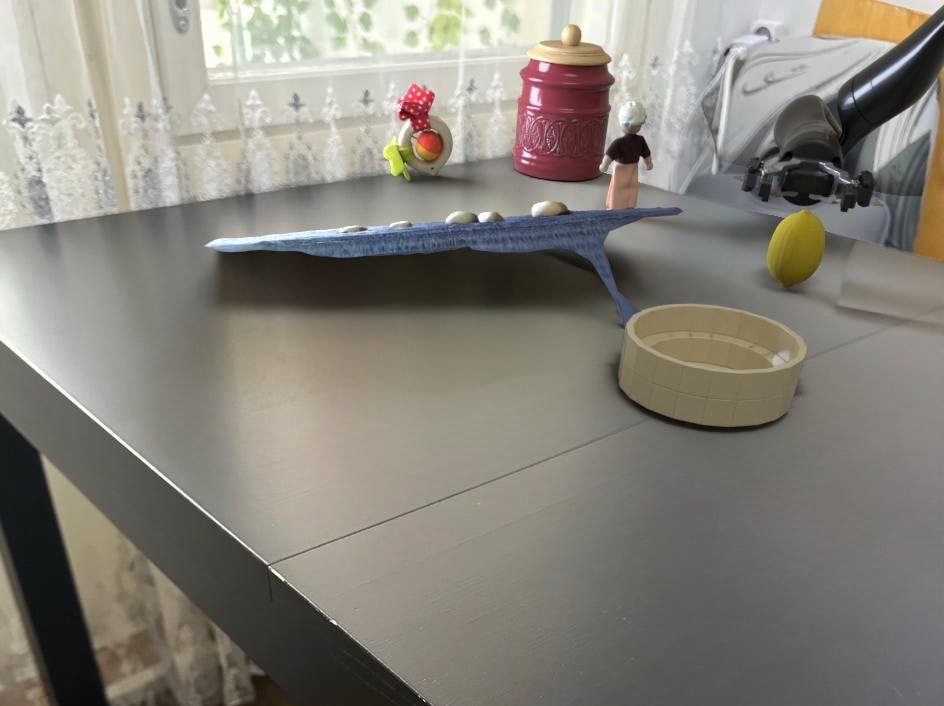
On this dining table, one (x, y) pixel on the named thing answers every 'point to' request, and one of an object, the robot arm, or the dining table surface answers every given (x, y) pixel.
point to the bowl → (710, 364)
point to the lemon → (796, 248)
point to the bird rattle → (419, 136)
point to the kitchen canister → (563, 109)
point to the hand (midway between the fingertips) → (806, 197)
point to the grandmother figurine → (627, 158)
